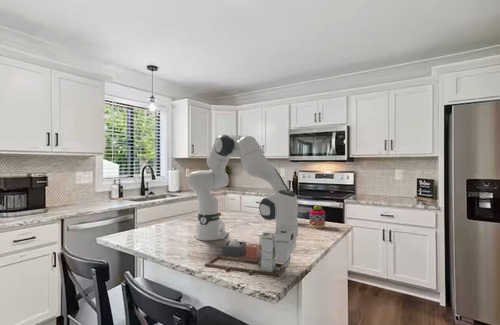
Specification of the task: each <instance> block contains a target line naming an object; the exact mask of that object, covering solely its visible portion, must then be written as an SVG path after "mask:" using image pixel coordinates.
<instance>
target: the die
mask: <svg viewBox="0 0 500 325" xmlns="http://www.w3.org/2000/svg"><path fill="white" fill-rule="evenodd" d="M245 256H246V258H250V259H258V258H259V244H257V243H248V244H246V252H245Z"/></svg>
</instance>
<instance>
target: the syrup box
mask: <svg viewBox="0 0 500 325" xmlns="http://www.w3.org/2000/svg"><path fill="white" fill-rule="evenodd" d="M274 234H275V232H274V233H273V232H262V233H261V234H260V236H259V256H258V261H259V264H258V270H260V271H267V272H274V271H275V269H276V266H275V264H276V263H277V260H276V252H275V242H276V240H274Z"/></svg>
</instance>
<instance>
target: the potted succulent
mask: <svg viewBox="0 0 500 325" xmlns="http://www.w3.org/2000/svg"><path fill="white" fill-rule="evenodd" d="M308 219H309V222H308V223H309V228H310V227H311V229H314V228H323V229H325V228H326V211H325V210H323V207H322V205H319V206H318V205H314V206H313V209H310V210H309V216H308ZM324 227H325V228H324Z"/></svg>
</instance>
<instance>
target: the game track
mask: <svg viewBox="0 0 500 325" xmlns="http://www.w3.org/2000/svg"><path fill="white" fill-rule="evenodd" d="M218 259H219V260H227V261H232V262H241V263H248V264H257V265H259V260H254V259H247V258H243V257H242V256H240V257H234V256H226V255H215V256H214V257H213V258H211V259H209V260H208V261H206V262H205V263H204V266H205V267H211V268H216V269H223V270H225V272H229V271H237V272H244V273H248V275H249V276H252V274H255V275H256V274H257V275H265V276H271V277H276V278H278V277H279V276H280V275H281V273H283V271H284V268H285V267H284V263H280V262H276V264H275V267H279V268H278V270H277V271H276V272H274V271H273V272H267V271H260V270H259V269H253V268H246V267H245V268H244V267H238V266H233V265H232V266H231V265H224V264H216V263H214V262H216V260H218ZM282 270H283V271H282Z"/></svg>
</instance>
